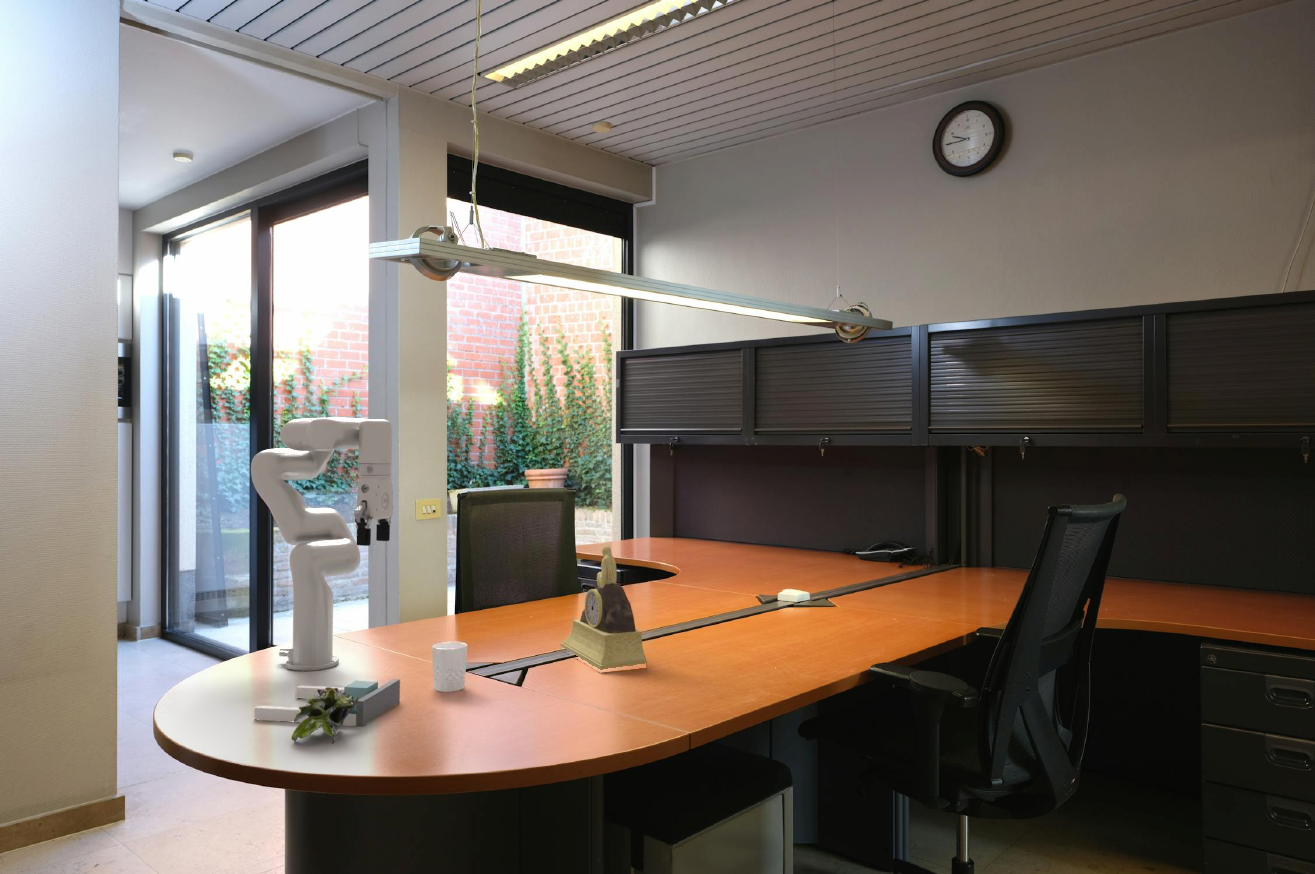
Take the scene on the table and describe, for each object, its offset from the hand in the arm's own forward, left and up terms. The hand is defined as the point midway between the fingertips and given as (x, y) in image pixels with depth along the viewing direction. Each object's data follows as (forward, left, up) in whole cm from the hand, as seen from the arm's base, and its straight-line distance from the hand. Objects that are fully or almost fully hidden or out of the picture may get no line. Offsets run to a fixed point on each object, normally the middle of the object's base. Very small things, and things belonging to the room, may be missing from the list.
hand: (373, 543), depth 210 cm
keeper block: (+9, -23, -33) cm, 41 cm away
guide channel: (+2, -23, -33) cm, 40 cm away
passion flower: (+10, -39, -33) cm, 52 cm away
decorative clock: (+49, +33, -33) cm, 68 cm away
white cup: (+20, -2, -33) cm, 39 cm away
